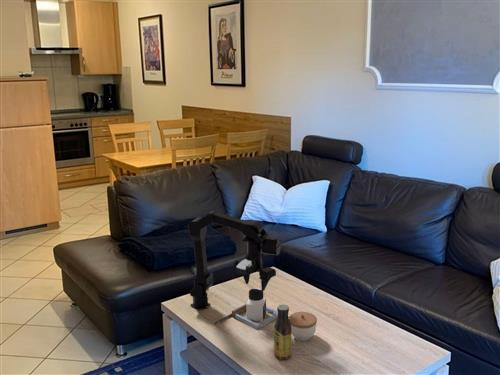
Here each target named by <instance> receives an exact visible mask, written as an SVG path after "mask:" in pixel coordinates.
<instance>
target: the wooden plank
mask: <svg viewBox="0 0 500 375" xmlns="http://www.w3.org/2000/svg"><path fill="white" fill-rule="evenodd" d="M246 304H247V303H245V304H243V305H241V306H239V307H237V308H235V309H233V310H232V311H231V313H232V316H231V317H235V315H236V314H238V315H240V314H242V313H243V312H245V311H246Z"/></svg>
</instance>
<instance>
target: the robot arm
mask: <svg viewBox="0 0 500 375" xmlns="http://www.w3.org/2000/svg"><path fill="white" fill-rule="evenodd" d="M212 223H213V224H216V225H220V226H222V227H226V228H229V229H232V230H235V231H238V232H240V233H241V234H242V235H243V236H245V237H243V239H241V241H242V242H244V243H245V242H246V243H247V244H246V246H247V250H246V252H247V253H246V254H245V256H244V257H241V258H238V259H236V260H235V261H234V268H236V270H237V273H238V274H241V275H242V277H243V280H244V282H245V284H246V285H248V284H249V282H250V276H251V274H252V273H253V272H254V271H256V272H258V275H259V277H258V279H259V280H260V286H261V287H260V289H262V291H263V292H264V291H265V290H266V288H267V285H268V284H269V282H270V280H271V279H272V278H274V277H276V276H277V271H276V269H275V268H272V267H270V266H267V267H265V268H264V267H263V266H265V264H264V262H262V260H263V259H262V257H265V256H264V254H265V255H272V256H279V255H280V253H281V249H282V248H281V242H280V239H279V237H270V236H269V234H268V233H267V231H266V229H265V228H264V225H263V223H262V222H261V221H260V220H256V219H243V218H242V219H240V218H238V217H234V216H231V215H227V214H225V213H222V212H218V211H217V210H211V211H210V212H209V213H207V214H206V215H204V216H202V217H201V216H199V217H196V218H195V219H193V220H192V221H190V222H189V223H188V225H187V229H188V234H189V236H190V238H191V239H192V241H193V248H194V258H195V267H196V274H195V277H194V281H193V282H194V284H193V285H194V286H193V288H192V289H190V290H189V291H188V292H189V295H190V297H192V303H191V304H190V307H192V308H194V309H196V310H198V311H201V310H204V309H205V308H208V307H210V306H211V303H210V302H209V297H208V293H207V291H208V290H209V289H210V287H212V286H213V283H214V282H215V280H214V273H213V272H210V271H209V270H208V260H207V249H206V248H207V246H206V240H205V239H206V235H207V232H208V226H209V225H210V224H212ZM268 236H269V237H268Z"/></svg>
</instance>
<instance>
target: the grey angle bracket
mask: <svg viewBox="0 0 500 375" xmlns="http://www.w3.org/2000/svg"><path fill="white" fill-rule="evenodd" d="M267 312H268V313H269V314H272V315H270V316H269V317H267V318H264V320H262V319H261V320H260V321H258V323H257V322H255V321H253V320H248V319H247V318H246V317H244V316H242V315H240V314H236V315H235V316H234V317H235V319H236V320H238V321H240V322H242V323H244V324H246V325H248V326H251V328H254V329H256V330H257V329H260V328H262V327H264V326H265V325H267V324H268V323H271V322H273V320H277V318H278V311H277V310H275V309H274V308H271V307H269V306H267V305H266V313H267Z"/></svg>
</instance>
